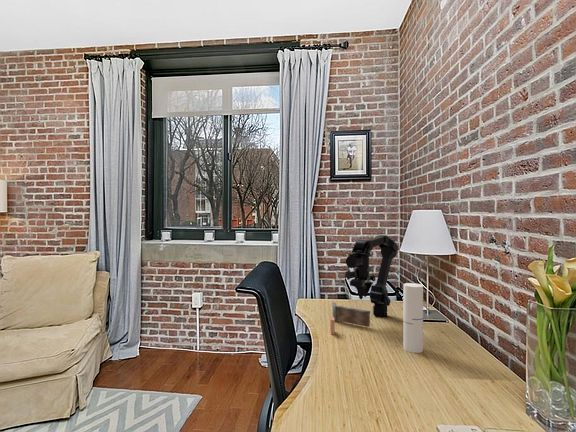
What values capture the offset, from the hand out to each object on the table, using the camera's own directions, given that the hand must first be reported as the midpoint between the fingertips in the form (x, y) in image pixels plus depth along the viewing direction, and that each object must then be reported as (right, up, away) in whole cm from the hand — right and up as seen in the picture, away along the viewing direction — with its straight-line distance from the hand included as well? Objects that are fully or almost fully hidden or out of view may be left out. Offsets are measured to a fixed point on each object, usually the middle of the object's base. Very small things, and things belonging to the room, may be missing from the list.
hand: (363, 297), depth 158 cm
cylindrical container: (+12, -12, -31) cm, 36 cm away
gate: (-6, -11, -3) cm, 13 cm away
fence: (-15, -12, -2) cm, 19 cm away
